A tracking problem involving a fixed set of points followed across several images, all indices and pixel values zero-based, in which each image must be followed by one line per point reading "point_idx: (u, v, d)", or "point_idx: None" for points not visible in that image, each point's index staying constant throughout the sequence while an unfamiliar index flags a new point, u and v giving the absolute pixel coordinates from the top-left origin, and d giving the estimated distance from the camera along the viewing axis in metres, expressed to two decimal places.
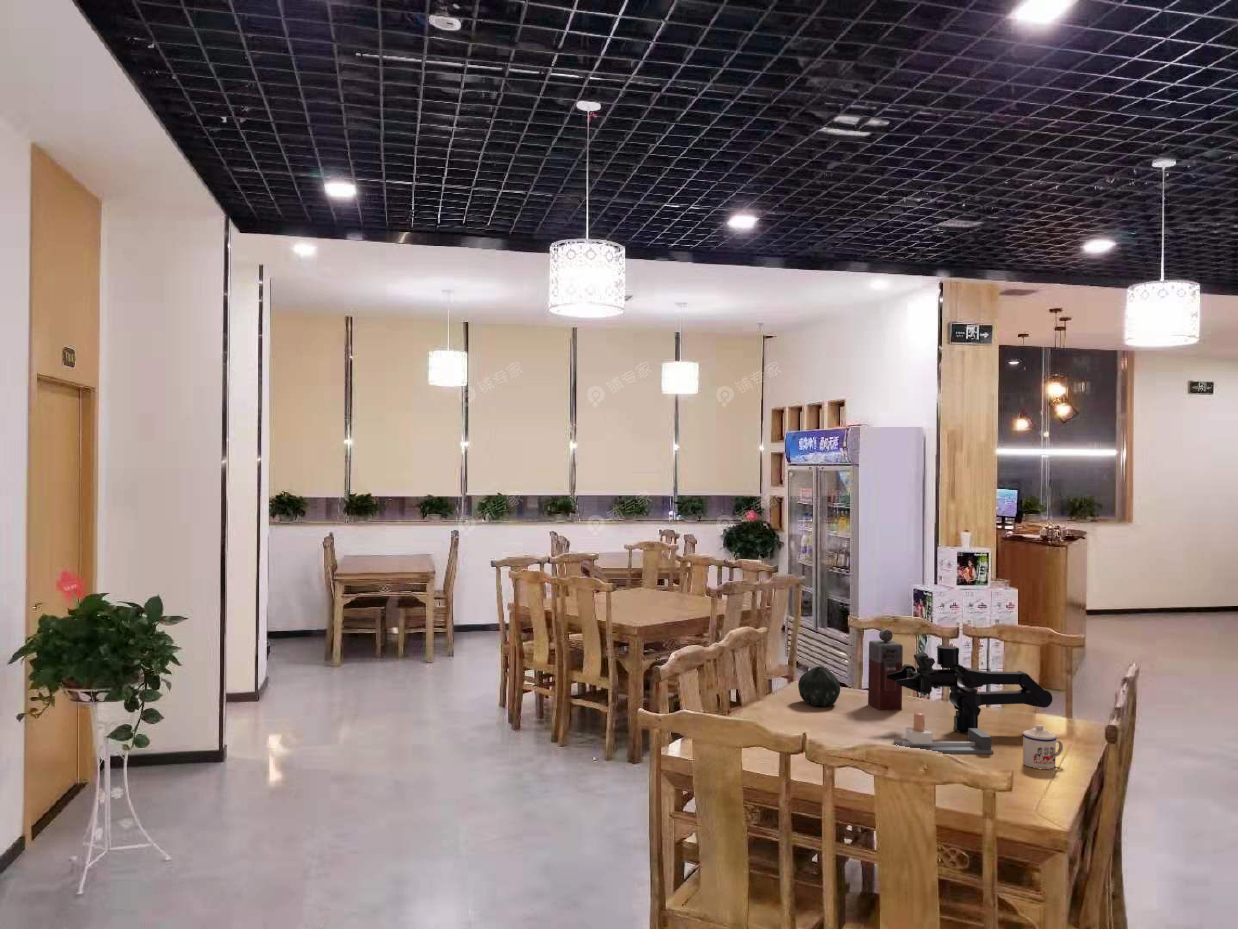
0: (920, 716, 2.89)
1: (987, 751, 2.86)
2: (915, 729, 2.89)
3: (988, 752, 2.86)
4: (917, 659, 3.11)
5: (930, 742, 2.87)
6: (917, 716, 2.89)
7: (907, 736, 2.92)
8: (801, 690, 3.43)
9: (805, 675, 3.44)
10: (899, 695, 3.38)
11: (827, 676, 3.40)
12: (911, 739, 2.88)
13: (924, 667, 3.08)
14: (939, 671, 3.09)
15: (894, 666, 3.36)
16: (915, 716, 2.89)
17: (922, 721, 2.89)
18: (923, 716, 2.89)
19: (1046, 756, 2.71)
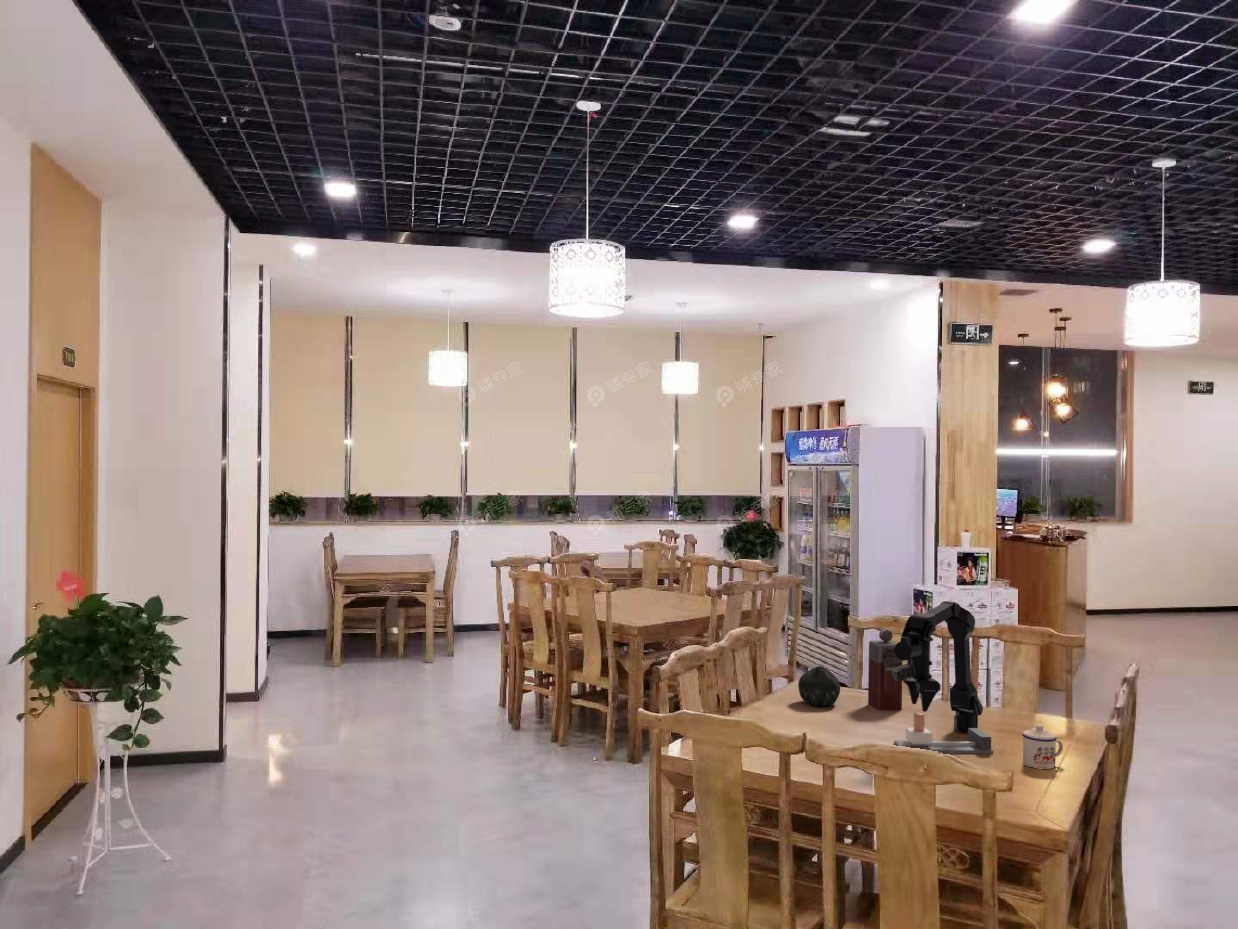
0: (920, 716, 2.89)
1: (987, 751, 2.86)
2: (915, 729, 2.89)
3: (988, 752, 2.86)
4: None
5: (930, 742, 2.87)
6: (917, 716, 2.89)
7: (907, 736, 2.92)
8: (801, 690, 3.43)
9: (805, 675, 3.44)
10: (899, 695, 3.38)
11: (827, 676, 3.40)
12: (911, 739, 2.88)
13: None
14: None
15: (894, 666, 3.36)
16: (915, 716, 2.89)
17: (922, 721, 2.89)
18: (923, 716, 2.89)
19: (1046, 756, 2.71)
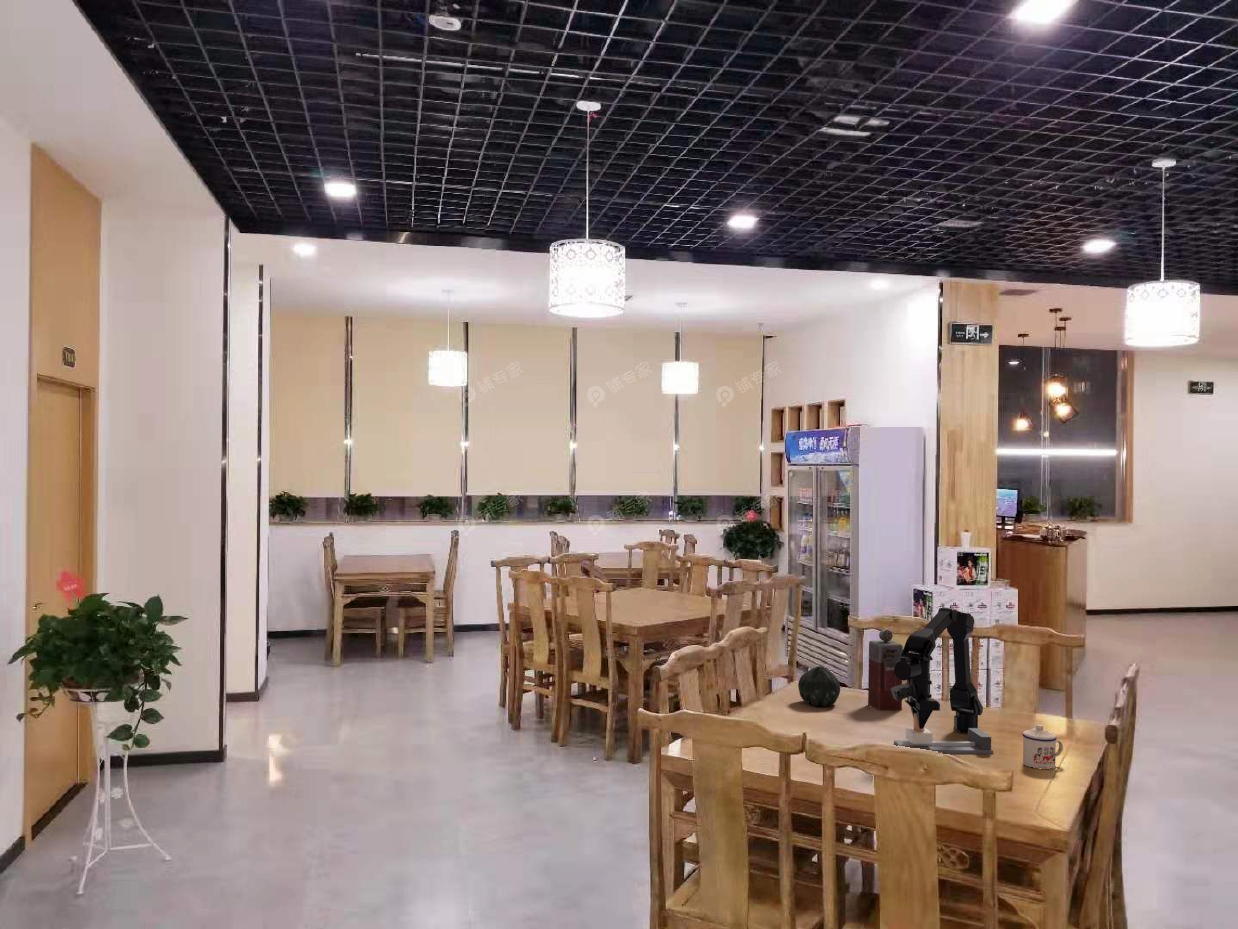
0: None
1: (987, 751, 2.86)
2: (915, 729, 2.89)
3: (988, 752, 2.86)
4: None
5: (930, 742, 2.87)
6: (917, 716, 2.89)
7: (907, 736, 2.92)
8: (801, 690, 3.43)
9: (805, 675, 3.44)
10: None
11: (827, 676, 3.40)
12: (911, 739, 2.88)
13: None
14: None
15: (894, 666, 3.36)
16: (915, 716, 2.89)
17: None
18: None
19: (1046, 756, 2.71)
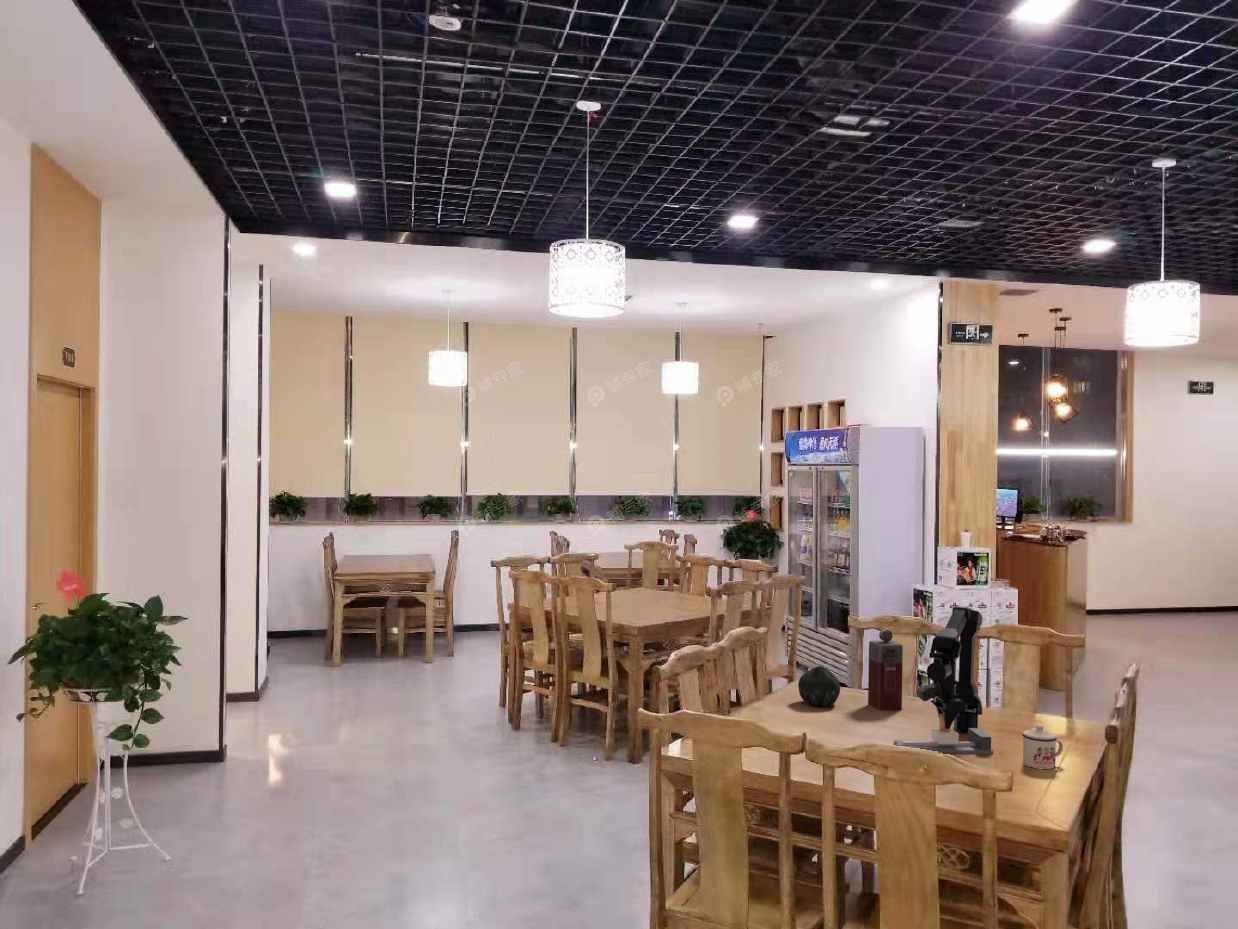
0: None
1: (987, 751, 2.86)
2: (941, 729, 2.90)
3: (988, 752, 2.86)
4: None
5: (956, 742, 2.87)
6: (943, 716, 2.89)
7: (933, 737, 2.92)
8: (801, 690, 3.43)
9: (805, 675, 3.44)
10: (899, 695, 3.38)
11: (827, 676, 3.40)
12: (937, 739, 2.89)
13: None
14: None
15: (894, 666, 3.36)
16: (941, 716, 2.90)
17: None
18: None
19: (1046, 756, 2.71)
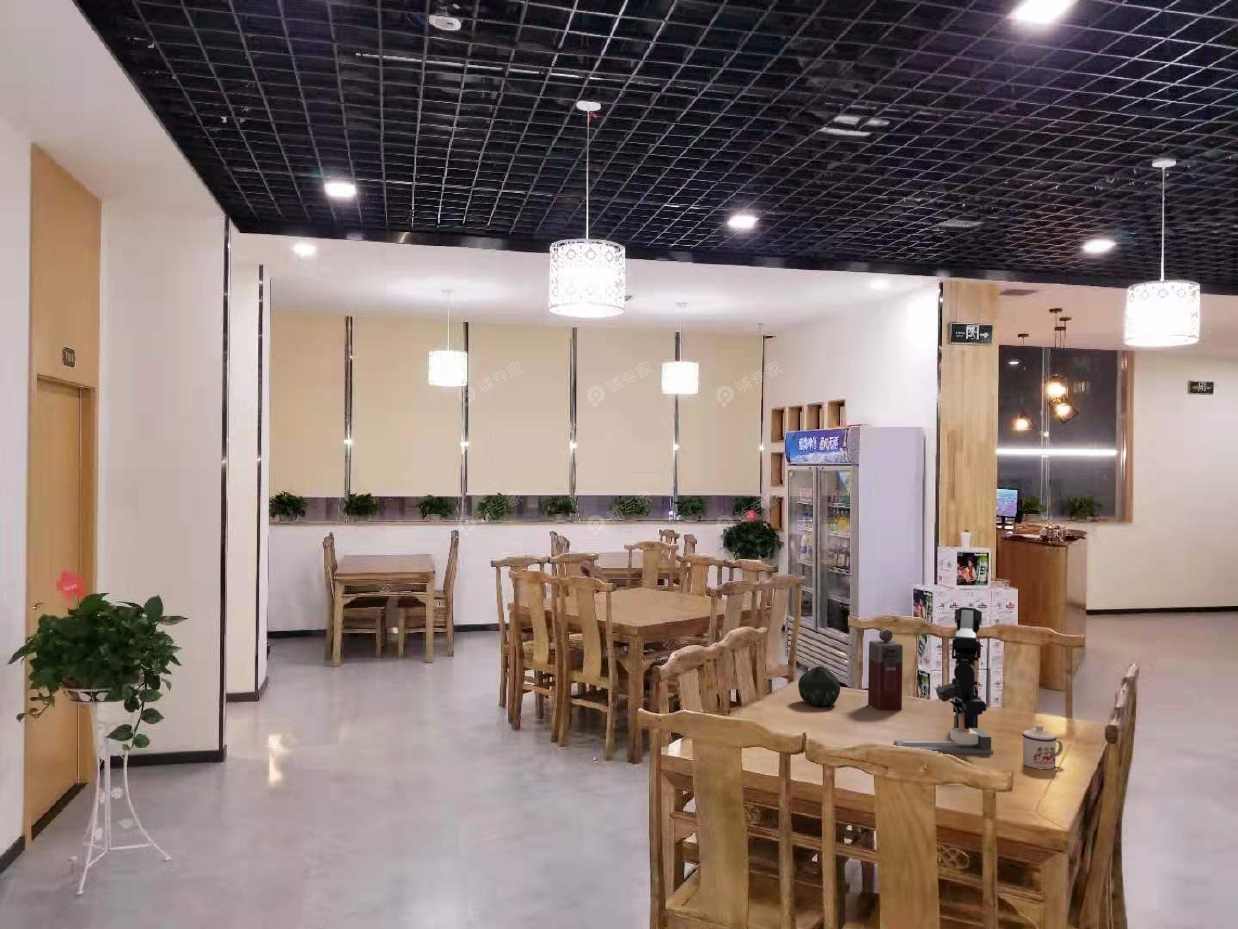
0: None
1: (987, 751, 2.86)
2: (960, 729, 2.90)
3: (988, 752, 2.86)
4: None
5: (976, 742, 2.88)
6: (962, 716, 2.89)
7: (952, 737, 2.92)
8: (801, 690, 3.43)
9: (805, 675, 3.44)
10: (899, 695, 3.38)
11: (827, 676, 3.40)
12: (956, 739, 2.89)
13: None
14: None
15: (894, 666, 3.36)
16: (960, 716, 2.90)
17: None
18: None
19: (1046, 756, 2.71)
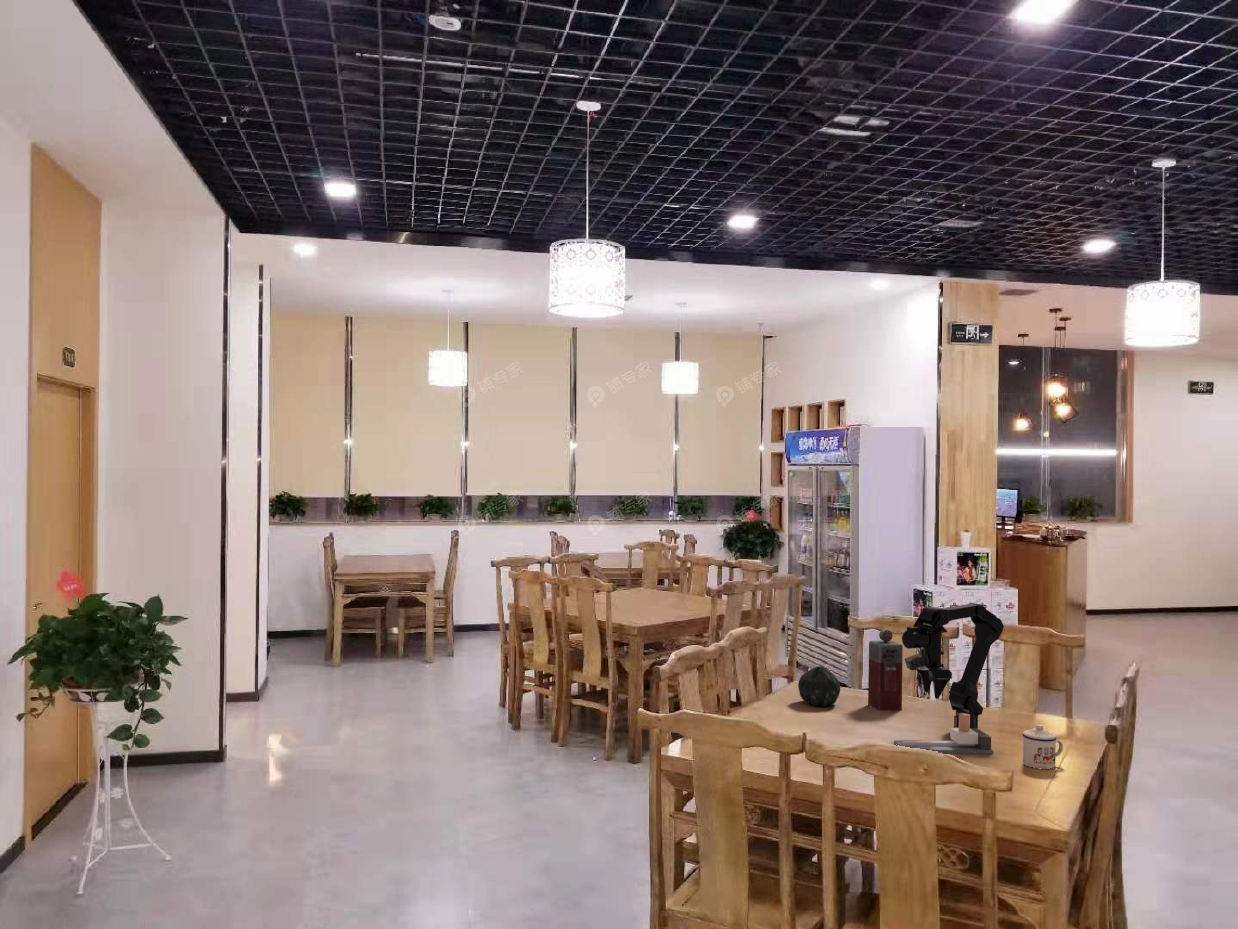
0: (965, 716, 2.89)
1: (987, 751, 2.86)
2: (960, 729, 2.90)
3: (988, 752, 2.86)
4: None
5: (976, 742, 2.88)
6: (962, 716, 2.89)
7: (952, 737, 2.92)
8: (801, 690, 3.43)
9: (805, 675, 3.44)
10: (899, 695, 3.38)
11: (827, 676, 3.40)
12: (956, 739, 2.89)
13: None
14: (926, 647, 3.03)
15: (894, 666, 3.36)
16: (960, 716, 2.90)
17: (967, 721, 2.89)
18: (968, 716, 2.89)
19: (1046, 756, 2.71)
